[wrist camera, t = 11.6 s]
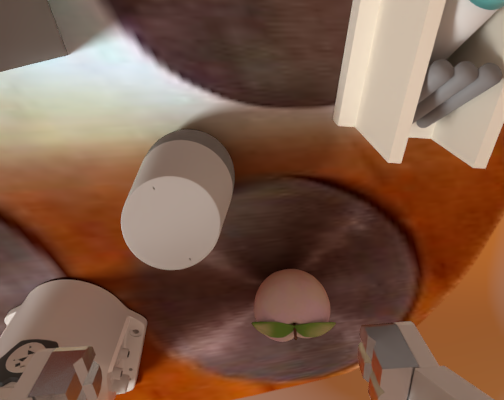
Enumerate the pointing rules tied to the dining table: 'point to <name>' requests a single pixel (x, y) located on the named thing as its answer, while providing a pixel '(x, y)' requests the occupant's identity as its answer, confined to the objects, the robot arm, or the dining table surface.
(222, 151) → the smart speaker
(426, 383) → the robot arm
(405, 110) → the tilted socket
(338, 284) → the dining table surface
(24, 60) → the perfume bottle
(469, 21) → the marker
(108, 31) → the dining table surface
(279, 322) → the decorative fruit
